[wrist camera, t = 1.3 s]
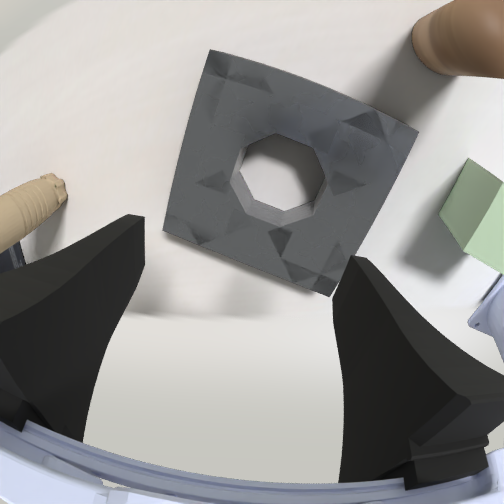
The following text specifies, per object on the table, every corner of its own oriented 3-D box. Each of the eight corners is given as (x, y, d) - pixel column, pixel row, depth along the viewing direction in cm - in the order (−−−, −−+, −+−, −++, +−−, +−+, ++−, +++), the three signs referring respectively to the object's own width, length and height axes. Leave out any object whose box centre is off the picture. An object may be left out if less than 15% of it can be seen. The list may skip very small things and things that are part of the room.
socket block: (408, 125, 17) (419, 131, 15) (329, 277, 23) (329, 297, 21) (222, 52, 17) (209, 49, 15) (176, 215, 23) (162, 230, 21)
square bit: (511, 188, 17) (547, 219, 12) (481, 239, 19) (509, 278, 15) (468, 157, 17) (503, 182, 12) (438, 214, 19) (462, 250, 15)
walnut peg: (476, 37, 12) (537, 28, 7) (458, 87, 15) (516, 96, 9) (422, 3, 12) (467, -27, 7) (402, 54, 15) (443, 43, 9)
